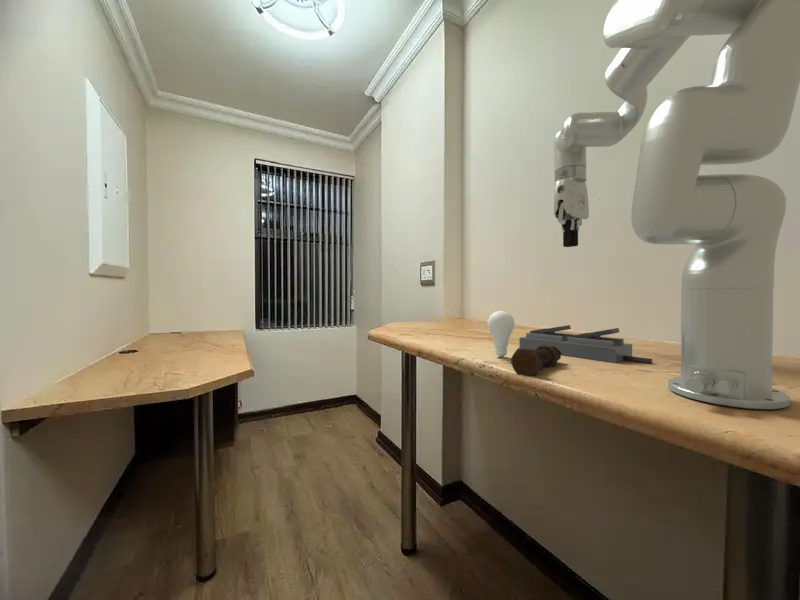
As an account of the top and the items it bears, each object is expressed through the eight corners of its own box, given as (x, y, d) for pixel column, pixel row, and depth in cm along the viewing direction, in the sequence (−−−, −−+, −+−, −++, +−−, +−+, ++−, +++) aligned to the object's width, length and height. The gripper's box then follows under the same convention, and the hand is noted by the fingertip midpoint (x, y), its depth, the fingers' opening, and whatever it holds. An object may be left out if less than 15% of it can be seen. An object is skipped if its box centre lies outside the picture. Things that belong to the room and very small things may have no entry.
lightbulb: (482, 356, 81) (482, 310, 80) (504, 354, 83) (504, 309, 82) (497, 360, 75) (496, 312, 75) (520, 358, 77) (520, 311, 76)
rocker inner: (612, 335, 73) (610, 328, 73) (572, 341, 80) (570, 335, 80) (620, 333, 75) (618, 327, 76) (580, 339, 82) (578, 333, 83)
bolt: (557, 371, 73) (527, 383, 62) (537, 357, 76) (505, 366, 65) (572, 349, 70) (543, 358, 60) (551, 336, 74) (520, 342, 63)
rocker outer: (563, 331, 82) (561, 325, 82) (530, 336, 89) (529, 330, 89) (571, 330, 84) (569, 324, 84) (538, 334, 91) (537, 329, 92)
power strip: (643, 367, 66) (643, 346, 66) (519, 348, 89) (519, 333, 89) (659, 360, 72) (659, 341, 72) (538, 344, 94) (538, 330, 94)
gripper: (570, 167, 81) (570, 242, 82) (597, 178, 90) (598, 246, 91) (541, 176, 87) (542, 246, 88) (570, 185, 96) (570, 249, 97)
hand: (570, 246), depth 89 cm, fingers closed
